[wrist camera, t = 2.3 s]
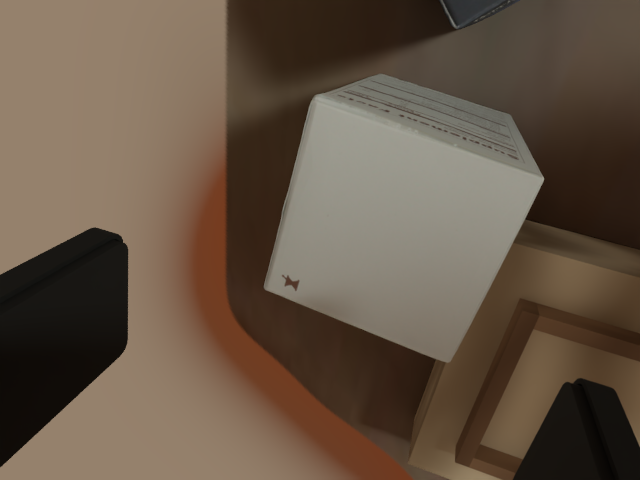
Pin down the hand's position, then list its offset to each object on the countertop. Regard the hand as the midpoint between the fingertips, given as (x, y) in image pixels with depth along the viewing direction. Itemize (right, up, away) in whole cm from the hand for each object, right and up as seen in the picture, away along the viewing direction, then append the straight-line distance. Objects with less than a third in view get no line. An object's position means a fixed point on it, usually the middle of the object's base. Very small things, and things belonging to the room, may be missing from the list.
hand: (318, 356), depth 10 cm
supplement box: (+6, +7, +16) cm, 19 cm away
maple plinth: (+15, -5, +18) cm, 24 cm away
